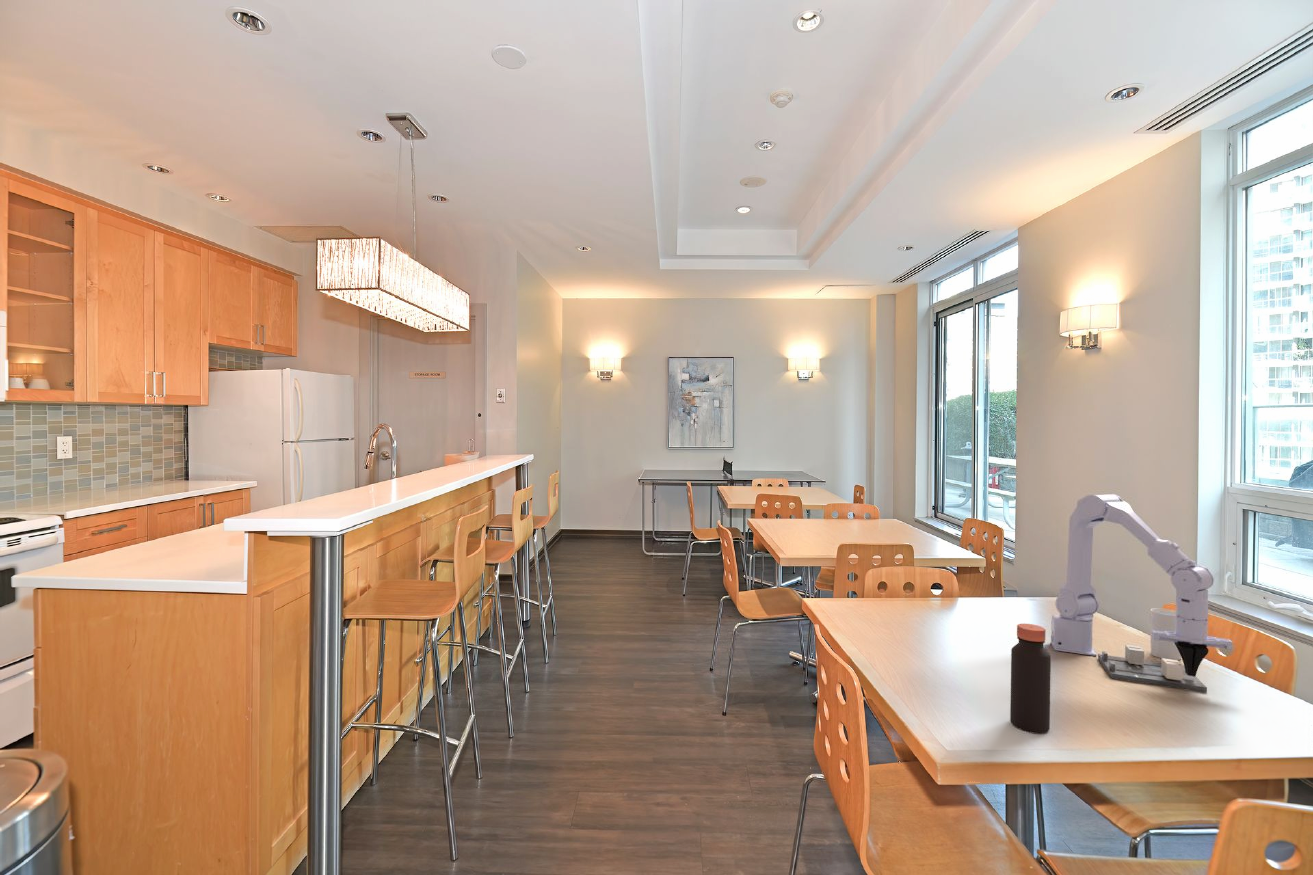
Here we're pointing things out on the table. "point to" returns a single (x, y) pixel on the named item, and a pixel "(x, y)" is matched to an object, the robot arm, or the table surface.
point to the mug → (1163, 622)
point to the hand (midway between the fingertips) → (1190, 674)
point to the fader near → (1172, 669)
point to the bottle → (1030, 680)
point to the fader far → (1134, 654)
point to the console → (1147, 673)
